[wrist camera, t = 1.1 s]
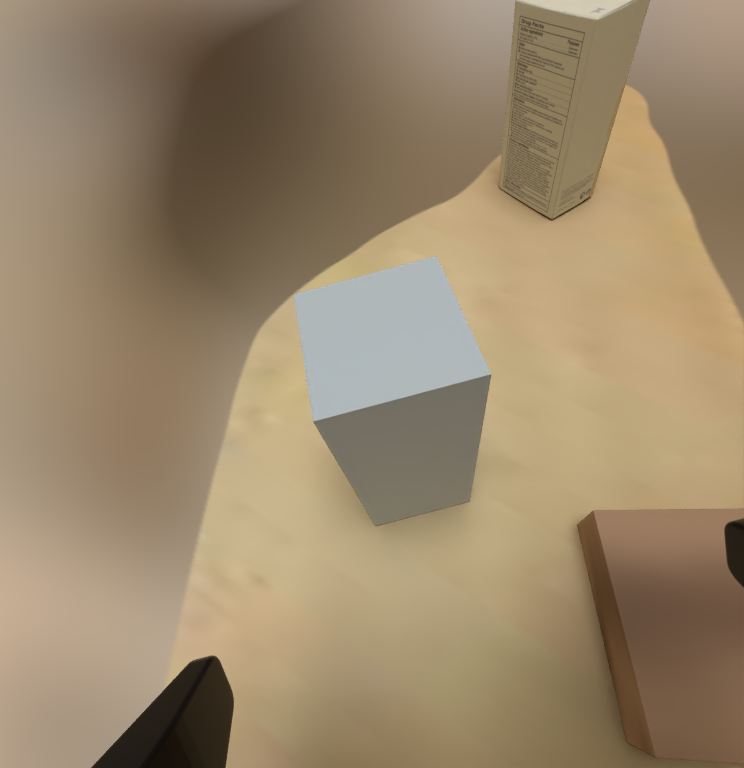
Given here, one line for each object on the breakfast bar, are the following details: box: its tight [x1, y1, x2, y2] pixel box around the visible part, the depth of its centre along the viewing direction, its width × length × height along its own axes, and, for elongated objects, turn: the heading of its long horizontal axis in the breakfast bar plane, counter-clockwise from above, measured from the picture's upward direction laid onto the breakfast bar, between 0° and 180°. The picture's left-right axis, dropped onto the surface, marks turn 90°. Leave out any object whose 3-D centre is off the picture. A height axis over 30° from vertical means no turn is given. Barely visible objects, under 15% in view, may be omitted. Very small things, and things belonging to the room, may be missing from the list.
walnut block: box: [577, 509, 744, 764], centre depth 16 cm, size 8×8×3 cm
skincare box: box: [499, 0, 650, 219], centre depth 28 cm, size 6×4×12 cm
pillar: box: [294, 256, 491, 526], centre depth 18 cm, size 5×5×12 cm
